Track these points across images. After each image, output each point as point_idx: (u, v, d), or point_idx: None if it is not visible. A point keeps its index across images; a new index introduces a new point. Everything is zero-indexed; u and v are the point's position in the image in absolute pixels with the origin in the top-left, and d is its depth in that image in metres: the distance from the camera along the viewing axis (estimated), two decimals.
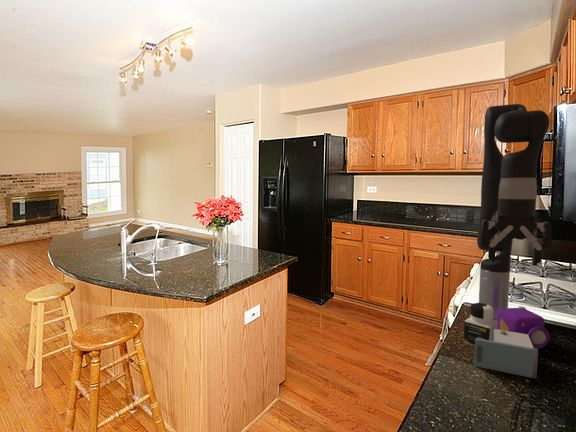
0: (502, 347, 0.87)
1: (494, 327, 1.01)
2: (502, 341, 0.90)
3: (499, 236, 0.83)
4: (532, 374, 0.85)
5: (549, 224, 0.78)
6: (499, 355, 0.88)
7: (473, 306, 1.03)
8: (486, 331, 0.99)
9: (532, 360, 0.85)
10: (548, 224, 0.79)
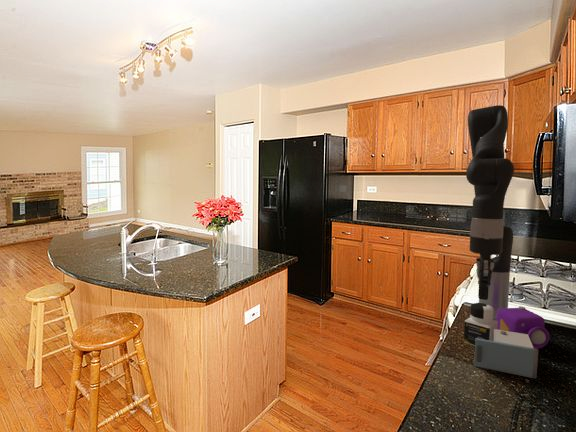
0: (502, 347, 0.87)
1: (494, 327, 1.01)
2: (502, 341, 0.90)
3: (492, 275, 0.89)
4: (532, 374, 0.85)
5: None
6: (499, 355, 0.88)
7: (473, 306, 1.03)
8: (486, 331, 0.99)
9: (532, 360, 0.85)
10: None
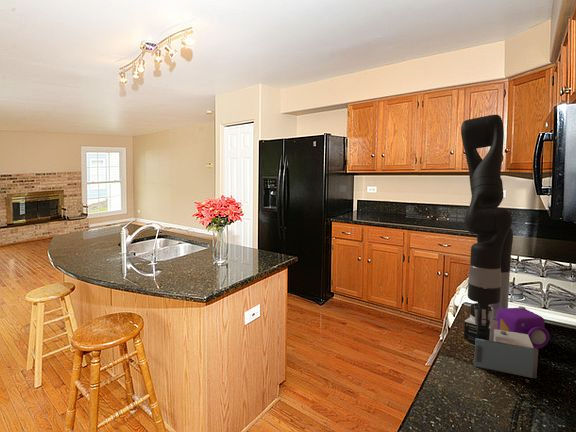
0: (502, 347, 0.87)
1: (494, 327, 1.01)
2: (502, 341, 0.90)
3: None
4: (532, 374, 0.85)
5: None
6: (499, 355, 0.88)
7: (473, 306, 1.03)
8: None
9: (532, 360, 0.85)
10: None
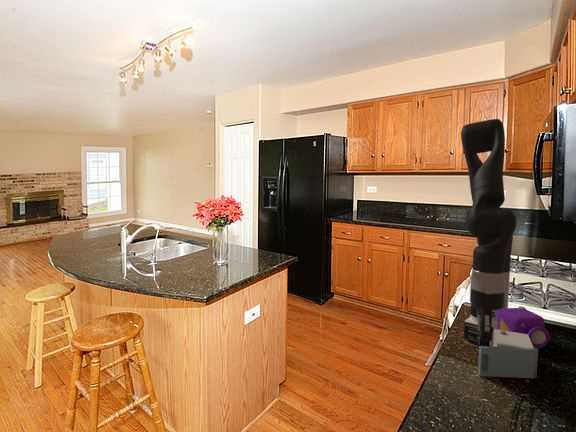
0: (506, 352, 0.85)
1: (494, 327, 1.01)
2: (502, 341, 0.90)
3: None
4: (533, 374, 0.85)
5: None
6: (504, 361, 0.85)
7: (473, 306, 1.03)
8: None
9: (533, 360, 0.84)
10: None
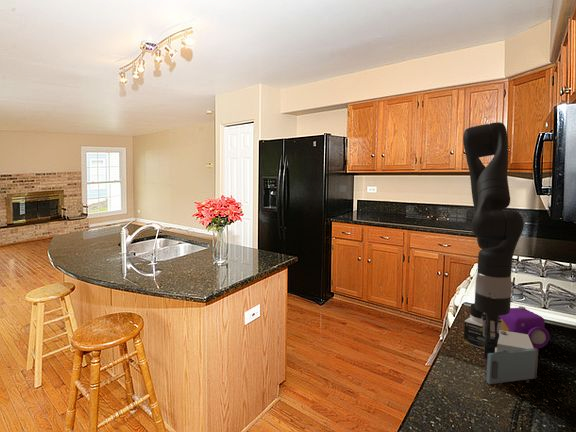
0: (512, 356, 0.83)
1: None
2: (502, 341, 0.90)
3: None
4: (534, 375, 0.85)
5: None
6: (510, 365, 0.83)
7: (473, 306, 1.03)
8: None
9: (534, 361, 0.84)
10: None
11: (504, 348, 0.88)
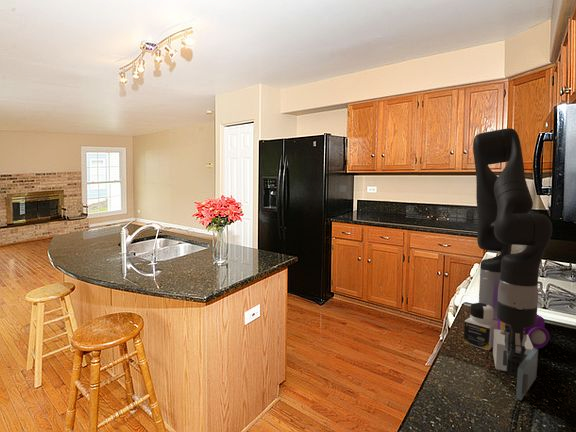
0: (530, 363, 0.80)
1: (494, 327, 1.01)
2: (502, 341, 0.90)
3: None
4: (535, 375, 0.84)
5: None
6: (528, 373, 0.79)
7: (473, 306, 1.03)
8: (486, 331, 0.99)
9: (536, 361, 0.84)
10: None
11: (504, 348, 0.88)
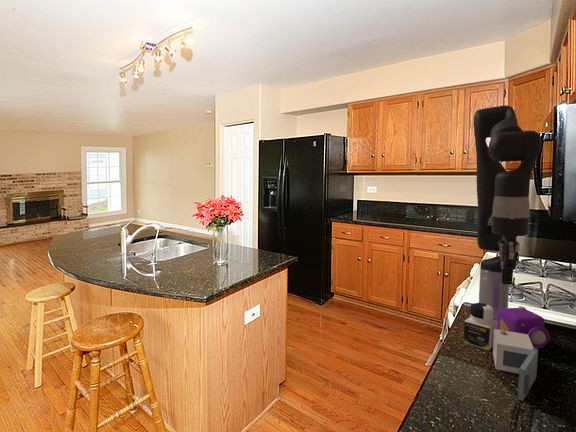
0: (531, 363, 0.79)
1: (494, 327, 1.01)
2: (502, 341, 0.90)
3: None
4: (536, 375, 0.84)
5: None
6: (529, 373, 0.79)
7: (473, 306, 1.03)
8: (486, 331, 0.99)
9: (536, 361, 0.84)
10: None
11: (504, 348, 0.88)
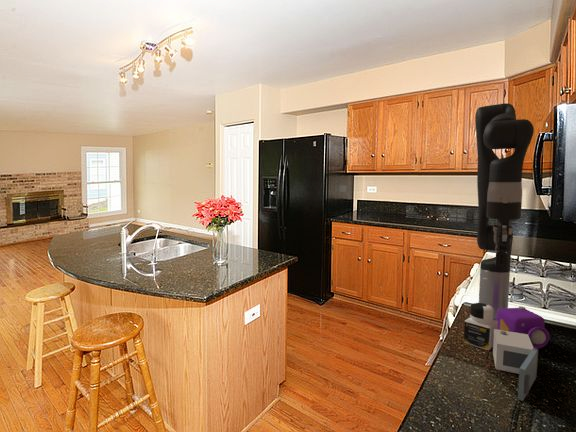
0: (531, 363, 0.79)
1: (494, 327, 1.01)
2: (502, 341, 0.90)
3: (510, 241, 0.86)
4: (536, 375, 0.84)
5: None
6: (529, 373, 0.79)
7: (473, 306, 1.03)
8: (486, 331, 0.99)
9: (536, 361, 0.84)
10: None
11: (504, 348, 0.88)
